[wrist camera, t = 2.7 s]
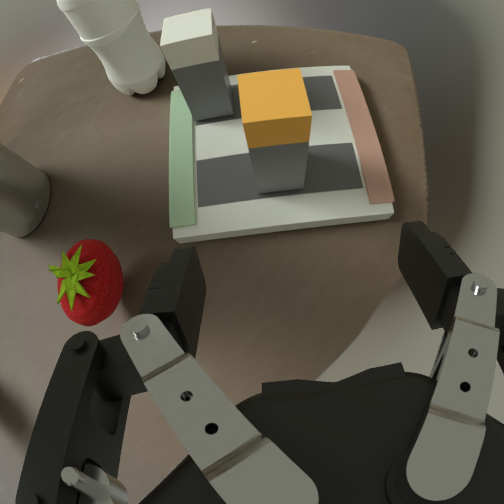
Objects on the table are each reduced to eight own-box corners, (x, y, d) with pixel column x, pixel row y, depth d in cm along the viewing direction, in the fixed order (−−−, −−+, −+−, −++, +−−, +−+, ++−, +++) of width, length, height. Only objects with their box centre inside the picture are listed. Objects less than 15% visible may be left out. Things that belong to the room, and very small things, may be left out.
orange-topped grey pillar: (258, 193, 28) (242, 123, 17) (253, 154, 29) (237, 75, 18) (303, 188, 28) (312, 115, 17) (296, 149, 28) (299, 68, 18)
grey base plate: (178, 244, 30) (108, 193, 17) (177, 97, 34) (137, 15, 21) (389, 219, 29) (451, 154, 16) (348, 76, 32) (365, -11, 19)
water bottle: (181, 73, 35) (109, -94, 10) (138, 110, 34) (32, -48, 10) (150, 55, 36) (78, -85, 12) (110, 89, 36) (15, -44, 11)
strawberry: (91, 321, 29) (25, 318, 20) (99, 249, 31) (38, 224, 21) (140, 330, 29) (80, 332, 19) (147, 253, 30) (93, 225, 21)
